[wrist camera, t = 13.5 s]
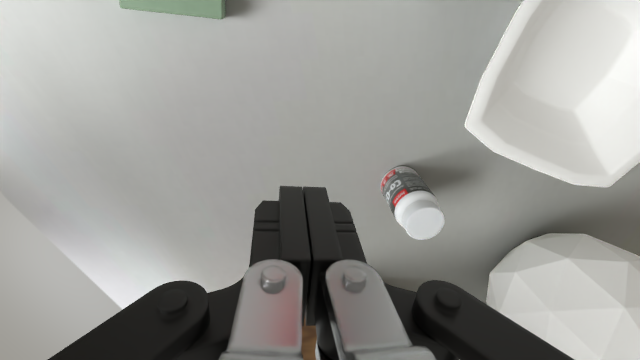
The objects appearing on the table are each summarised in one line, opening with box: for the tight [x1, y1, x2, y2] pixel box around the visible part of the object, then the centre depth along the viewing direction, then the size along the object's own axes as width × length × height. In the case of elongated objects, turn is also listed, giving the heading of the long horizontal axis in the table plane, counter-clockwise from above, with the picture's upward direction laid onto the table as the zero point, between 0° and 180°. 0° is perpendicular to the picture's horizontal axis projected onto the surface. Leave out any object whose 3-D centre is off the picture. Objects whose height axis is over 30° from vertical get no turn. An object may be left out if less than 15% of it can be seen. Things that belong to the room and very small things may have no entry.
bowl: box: [464, 0, 640, 188], centre depth 34 cm, size 22×23×6 cm
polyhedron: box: [486, 233, 640, 360], centre depth 42 cm, size 19×20×20 cm
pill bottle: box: [381, 166, 445, 240], centre depth 38 cm, size 5×5×8 cm
